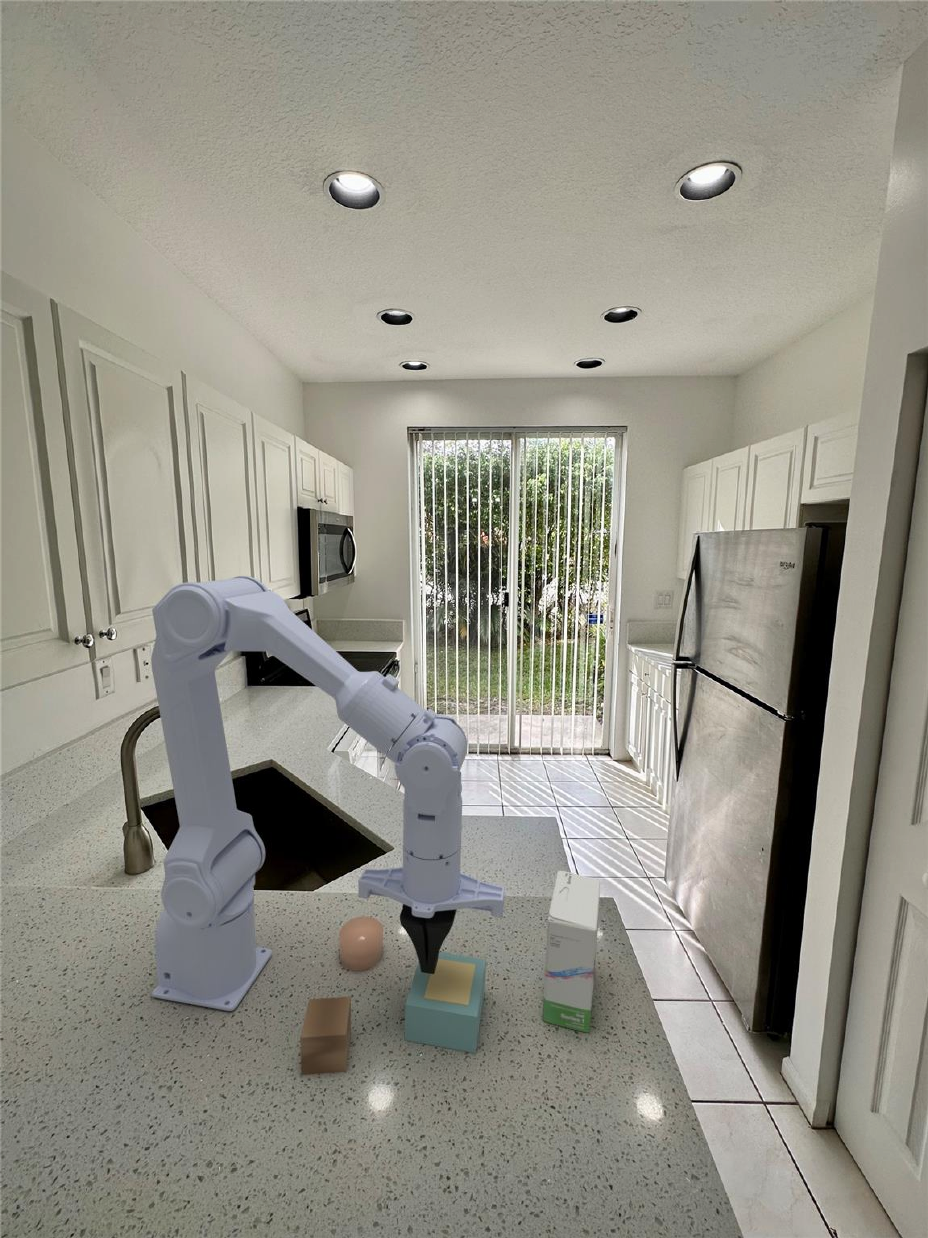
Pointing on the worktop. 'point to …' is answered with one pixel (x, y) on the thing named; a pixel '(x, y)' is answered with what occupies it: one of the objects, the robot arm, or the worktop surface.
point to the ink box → (571, 951)
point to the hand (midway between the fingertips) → (429, 965)
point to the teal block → (447, 1003)
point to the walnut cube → (326, 1036)
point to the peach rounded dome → (361, 943)
